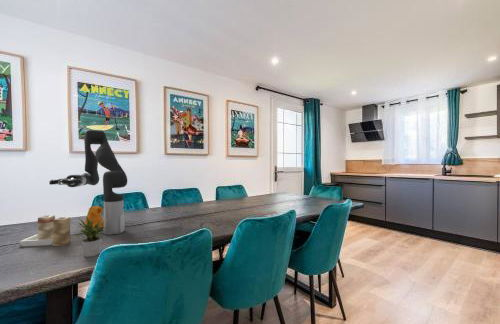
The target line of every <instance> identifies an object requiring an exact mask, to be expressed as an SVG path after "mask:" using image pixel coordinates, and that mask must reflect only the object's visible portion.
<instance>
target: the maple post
mask: <svg viewBox="0 0 500 324" xmlns="http://www.w3.org/2000/svg"><path fill="white" fill-rule="evenodd" d="M54 219H56V215H55V214H53V215H51V214H50V215H43V216H38V217H37V234H38V240H42V239H53V220H54Z"/></svg>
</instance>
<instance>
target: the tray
mask: <svg viewBox="0 0 500 324" xmlns="http://www.w3.org/2000/svg"><path fill="white" fill-rule="evenodd" d="M39 246H53V239H42V240H38V233H36V234H34V235H32V236H29V237H26V238H24V239H22V240H20V241H19V247H20V248H21V247H39Z"/></svg>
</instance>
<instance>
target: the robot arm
mask: <svg viewBox="0 0 500 324" xmlns="http://www.w3.org/2000/svg"><path fill="white" fill-rule="evenodd" d="M83 141H84V155H85V157H84V158H85V160H84V161H85V162H84V171H85V172H83V174H77V173H76V174H70V175H68V176H66V177H64V178H58V179H50V180H49V181H48V182H49V185H51V186H52V185H59V186H61V185H62V186H63V185H64V186H67V187H68V188H76V187H77V188H78V187H81V186H86V185H90V186H97V185H98V184H99V181H100V175H99V172H98V166H99V165H100V166H101V167H103V168H105V169H106V170H108V171H104V173H103V175H102V176H103V177H102V188H103V189H102V191H103V194H102V195H103V220H104V221H105V220H106V219H107V220H106V221H105V222H104V227H103V228H107V229H103V228H102V229H103V230H102V233H103V235H106V236H107V235H109V236H111V235H118V234H122V233H123V232H125V227H126V226H125V223H126V222H125V218H126V217H125V215H126V214H125V213H124V195H123V194H121V193H117V192H114V191H113V189H120V188H124V187H126V186H127V185H128V176H127V174H126V172H125V171H124V169H123V167H122V166H121V164H120V163H119V162H118V159H117V158H116V155H115V152H114V151H113V150H112V148H111V145H110V144H109V142H108V141H109V140H108V137H107V136H106V133H105V131H104V130H102V129H101V130H100V129H86V130H85V132H84V137H83ZM91 145H100V146H99V147H97V149H96V151H95V153H94V151H93V150H92V146H91ZM111 217H112V218H111ZM108 218H109V219H108ZM105 230H106V231H105ZM103 231H104V232H103Z"/></svg>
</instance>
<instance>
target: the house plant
mask: <svg viewBox="0 0 500 324" xmlns="http://www.w3.org/2000/svg"><path fill="white" fill-rule="evenodd" d="M94 217H95V216H94ZM86 218H87V216H86ZM86 218H85V219H86ZM111 218H112V217H111ZM76 219H77V220H79V221H80V222H81V223H79V222H75V221H74V223H75V224H72V226H73V225H74V226H75V225H76V226H78V227H80V225H81V227H82V229H80V232H81V233H77V232H76V235H75V239H76V238H77V237H79V236H81V237H83V239H82V240H81V246H82V250H83V251H82V252H83V256H84V257H86V258H87V257H89V258H90V257H95V256H97V255H99V254H100V250H101V245H102V239H103V238H102V237H103V236H100V235H101V234H102V233H103V232H104V231H103V229H107V228H104V227H102V228H100V226H101V225H102V224H103V223H104V222H105V221H106V220H107V219H106V220H105V221H104V222H103V223H102V224H101V225H100V226H99V224H100V221H101V219H100V221H99V223H97V224H96V225H95V227H94V228H93V220H94V219H95V218H93V220H92V222H91V221H90V220H89V219H88V218H87V224H88V225H87V224H85V221H83V220H82V219H81V218H78V217H76ZM108 219H109V218H108ZM71 223H73V221H72V222H71V221H70V224H71ZM76 223H77V224H76ZM78 224H79V225H78ZM84 226H85V227H84ZM98 227H99V228H98ZM83 228H84V229H83ZM105 231H106V230H105ZM82 235H85V236H86V237H84V236H82Z"/></svg>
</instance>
